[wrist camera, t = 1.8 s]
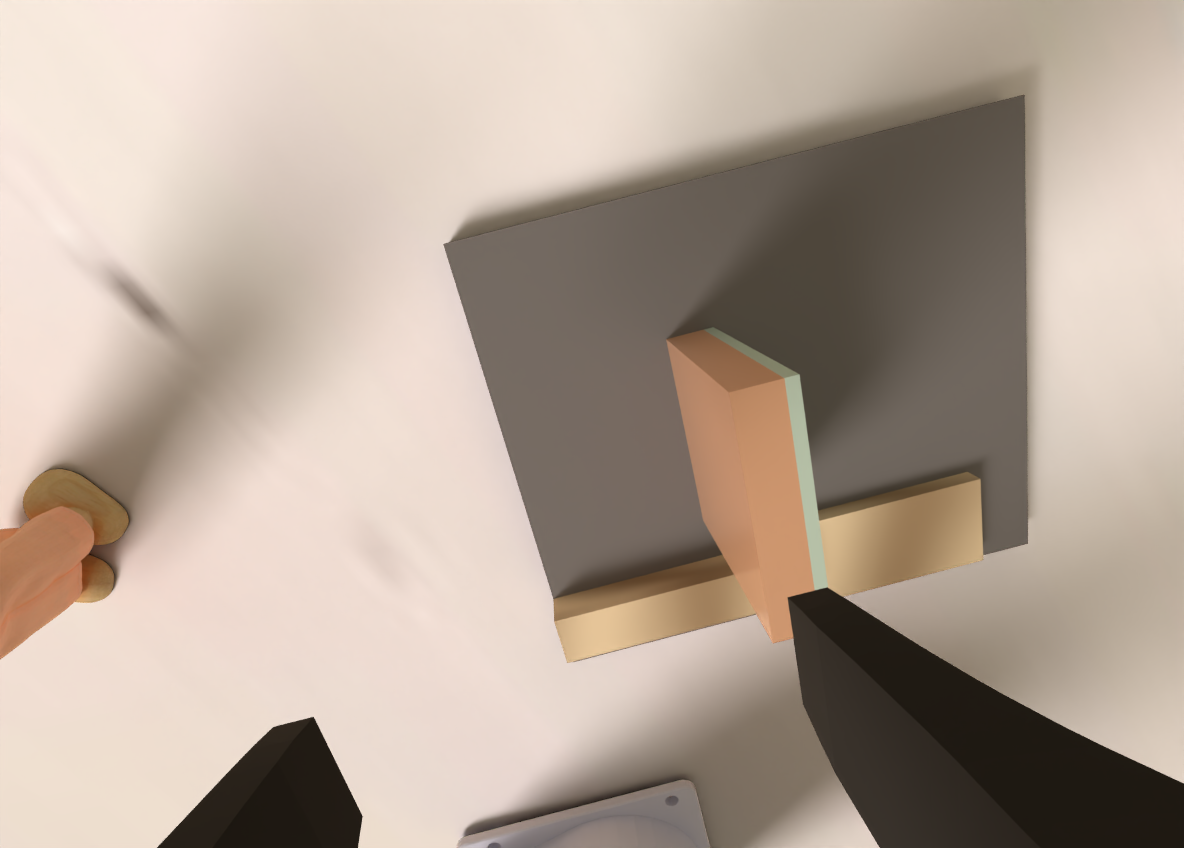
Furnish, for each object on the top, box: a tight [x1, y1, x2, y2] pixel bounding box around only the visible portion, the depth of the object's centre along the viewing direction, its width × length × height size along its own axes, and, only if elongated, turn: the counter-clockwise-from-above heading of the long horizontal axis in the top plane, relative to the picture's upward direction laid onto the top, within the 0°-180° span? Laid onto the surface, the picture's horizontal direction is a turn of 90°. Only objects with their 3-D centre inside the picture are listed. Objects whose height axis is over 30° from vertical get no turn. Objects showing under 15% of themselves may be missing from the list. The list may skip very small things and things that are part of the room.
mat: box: [444, 95, 1028, 662], centre depth 19 cm, size 16×14×1 cm
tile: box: [666, 327, 828, 643], centre depth 15 cm, size 1×6×6 cm, turn 14°
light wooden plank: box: [554, 472, 983, 663], centre depth 19 cm, size 14×3×1 cm, turn 104°
